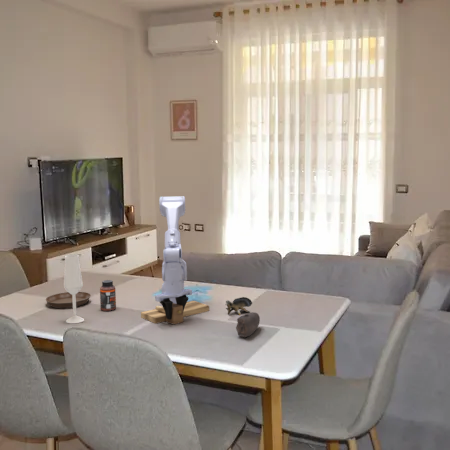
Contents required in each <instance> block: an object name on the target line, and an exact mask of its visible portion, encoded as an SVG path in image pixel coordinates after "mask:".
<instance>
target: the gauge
mask: <svg viewBox="0 0 450 450" xmlns="http://www.w3.org/2000/svg"><path fill="white" fill-rule="evenodd" d="M155 309H156V310H158V311H161V312H164V313H165V311H164V308H163V306H162V305H156V306H155ZM165 322H166V323H170V324H171V325H177V324H180V323H184V317H183V306H182V305H179V304H175V303H173V304H172V318H171V319H170V320H169V319H167V318H166V321H165Z"/></svg>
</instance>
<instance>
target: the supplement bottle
mask: <svg viewBox="0 0 450 450" xmlns="http://www.w3.org/2000/svg"><path fill="white" fill-rule="evenodd" d="M99 295H100V296H99V298H100V299H99V301H100V303H99V304H100V305H99V306H100V310H101V311H103V312H111V310H112V311H115V310H114V309H117V299H116V296H117V295H116V287H115V285H114V283H113V280H111V279H106V280H102V281H101V286H100V287H99Z"/></svg>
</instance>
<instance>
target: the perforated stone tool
mask: <svg viewBox="0 0 450 450" xmlns="http://www.w3.org/2000/svg"><path fill="white" fill-rule="evenodd" d="M236 321H237V323H236V326H235V330H236V331H237V335H238V336H239V337H242V338H247V337H248V338H249V337H250V336H252V335H253V334H254V332H255V331H257V329H258V327H259V325H260V322H261V320H260V315H259V313H257V312H250V313H249V312H247V313H246V314H245V313H244V314H243V315H239V316H238V318H237V319H236Z"/></svg>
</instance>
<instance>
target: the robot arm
mask: <svg viewBox="0 0 450 450" xmlns="http://www.w3.org/2000/svg"><path fill="white" fill-rule="evenodd" d="M158 202H159V204H158V205H159V212H160V216H162V217H164V218H165V219H166V222H167V223H166V224H167V230H166V231H165V232H164V249H163V250H162V251H163V257H162V259H163V261H162V264H161V266H162V267H161V279H162V281H163V283H162V284H161V293H159V294H156V295H154V300H155V301H156V302H157V303H158V302H159V303H160V304H161V307H163V308H164V311H165V314H166V318H167V319H169V320H170V319H171V318H172V304H173V303H175V304H179V305H182V306H183V311H184V308H185V305H186V303H187V302H189V296H193V289H191V288H186V289H185V282H186V281H187V280H188V271H187V270H188V267H187V262H186V260H184V258H183V248H182V244H181V242H182V241H181V239H182V238H181V232H180V229H179V228H180V227H179V225H180V224H179V222H180V218H181V217H183V216H185V214H186V197H185V196H184V195H182V196H181V195H180V196H179V195H177V196H162V195H161V196H159V201H158Z"/></svg>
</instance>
